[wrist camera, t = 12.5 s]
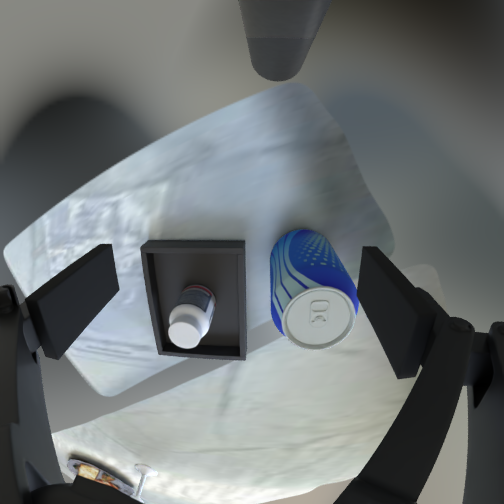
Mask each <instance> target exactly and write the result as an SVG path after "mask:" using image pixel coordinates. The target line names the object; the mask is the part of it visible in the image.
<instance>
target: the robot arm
mask: <svg viewBox="0 0 504 504" xmlns="http://www.w3.org/2000/svg"><path fill="white" fill-rule="evenodd" d="M118 291H119V284H118V279H117V274H116V268H115V262H114V256H113V250H112V244H100V245H98V246H97V247H95V248H94V249H92V250H91V251H89V252H88V253H86V254H85V255H84V256H82V257H81V258H79V259H78V260H76V261H75V262H74V263H72V264H71V265H69V266H68V267H67V268H65V269H64V270H63V271H61V272H60V273H58V274H57V275H56V276H54V277H53V278H52V279H50V280H49V281H48V282H46V283H45V284H44V285H42V286H41V287H40V288H38V289H37V290H36V291H35V292H33V293H32V294H31V295H29V296H28V297H27V298H26V299H25V301H24V302H23V303H22V304H21V305H19V301H18V298H17V295H16V292H15V288H14V286H13V285H3V286H0V504H144V503H142V502H140V501H138V500H136V499H134V498H132V497H130V496H128V495H126V494H125V493H123V492H121V491H119V490H117V489H116V488H114V487H112V486H109V485H106V484H103V483H100V482H97V481H94V480H91V479H88V478H85V477H83V476H80V475H76V477H75V480H74V482H73V483H65V481H64V479H63V476H62V473H61V470H60V466H59V463H58V459H57V456H56V452H55V448H54V444H53V439H52V435H51V431H50V426H49V421H48V416H47V411H46V405H45V399H44V392H43V384H42V377H41V368H40V357H39V355H38V352H37V349H38V348H39V347H40V346H42V349H43V351H44V354H45V356H46V357H49V358H52V359H56V360H59V359H60V358H61V356H62V355H63V354H64V353H65V352H66V350H67V349H68V348H69V347H70V346H71V344H72V343H73V342H74V341H75V340H76V339H77V337H78V336H79V335H80V334H81V333H82V332H83V330H84V329H85V328H86V327H87V326H88V325H89V323H90V322H91V321H92V320H93V319H94V318H95V317H96V315H97V314H98V313H99V312H100V311H101V310H102V309H103V308H104V307H105V305H106V304H107V303H108V302H109V301H110V300H111V299H112V298H113V297H114V296H115V294H116V293H117V292H118ZM356 296H357V298H358V300H359V302H360V303H361V305H362V307H363V309H364V311H365V313H366V315H367V317H368V319H369V321H370V323H371V325H372V327H373V329H374V331H375V333H376V335H377V337H378V339H379V341H380V343H381V345H382V347H383V349H384V351H385V353H386V355H387V357H388V359H389V362H390V364H391V366H392V368H393V370H394V372H395V374H396V376H397V379H403V378H411V377H416V374H417V372H418V369H419V367H420V364H421V366H422V367H423V368H422V370H421V372H420V374H419V376H418V378H417V380H416V382H415V384H414V386H413V388H412V390H411V392H410V394H409V396H408V398H407V399H406V401H405V403H404V405H403V407H402V409H401V410H400V412H399V414H398V416H397V417H396V419H395V421H394V422H393V424H392V426H391V427H390V429H389V431H388V432H387V434H386V435H385V437H384V439H383V440H382V442H381V443H380V445H379V446H378V448H377V449H376V451H375V452H374V454H373V455H372V457H371V458H370V460H369V461H368V462H367V464H366V465H365V467H364V468H363V469H362V471H361V472H360V473H359V475H358V476H357V477H356V478H354V479H353V480H352V481H351V483H350V484H349V485H348V486H347V487H346V489H345V490H344V491H343V492H342V494H341V495H340V496H339V497H338V499H337V500H336V501H335V502H334V503H333V504H417V503H416V502H417V499H418V497H419V495H420V493H421V491H422V489H423V487H424V485H425V483H426V481H427V479H428V477H429V475H430V473H431V471H432V469H433V466H434V464H435V462H436V460H437V457H438V455H439V453H440V450H441V448H442V445H443V443H444V440H445V438H446V434H447V432H448V430H449V427H450V424H451V421H452V418H453V415H454V412H455V409H456V406H457V403H458V400H459V396H460V393H461V390H462V386H467V396H468V454H467V469H466V480H465V489H464V497H463V504H504V322H494V323H493V324H492V325H491V328H490V330H489V333H481V332H475V330H474V327H473V326H472V324H471V323H469V322H468V321H466V320H464V319H462V318H457V317H450V316H449V315H448V314H447V313H446V312H445V311H444V310H443V308H442V307H441V306H440V305H438V303H437V302H436V301H435V300H434V298H433V297H432V296H431V295H430V294H429V293H428V292H426V291H424V290H423V289H421V288H419V287H417V288H415V287H414V286H413V285H412V284H411V282H410V281H409V280H408V279H407V278H406V277H405V276H404V275H403V274H402V273H401V272H400V271H399V269H397V267H396V266H395V265H394V264H393V263H392V262H391V261H390V260H389V259H388V258H387V257H386V256H385V255H384V254H383V253H382V252H381V251H380V250H379V249H378V247H371V246H363V249H362V257H361V265H360V273H359V280H358V287H357V294H356Z"/></svg>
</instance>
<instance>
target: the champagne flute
mask: <svg viewBox="0 0 504 504" xmlns="http://www.w3.org/2000/svg"><path fill="white" fill-rule="evenodd" d="M135 468H136V469H137V470H138V471H139V472H140V473H141V474H142V477H141V480H140V483H139V486H138V489H137V492H136V495H135V496H131V497H132V498H134V499H136V500H138V501H140V502H142V503H144V502H143V501H142V499H141V498H140V494H141V491H142V488H143V485H144V482H145V479H146V476H156V475H157V472H156V471H155V470H154V469H152V468H151V467H148V466H146V465H141V464H137V465H135ZM144 504H145V503H144Z"/></svg>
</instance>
